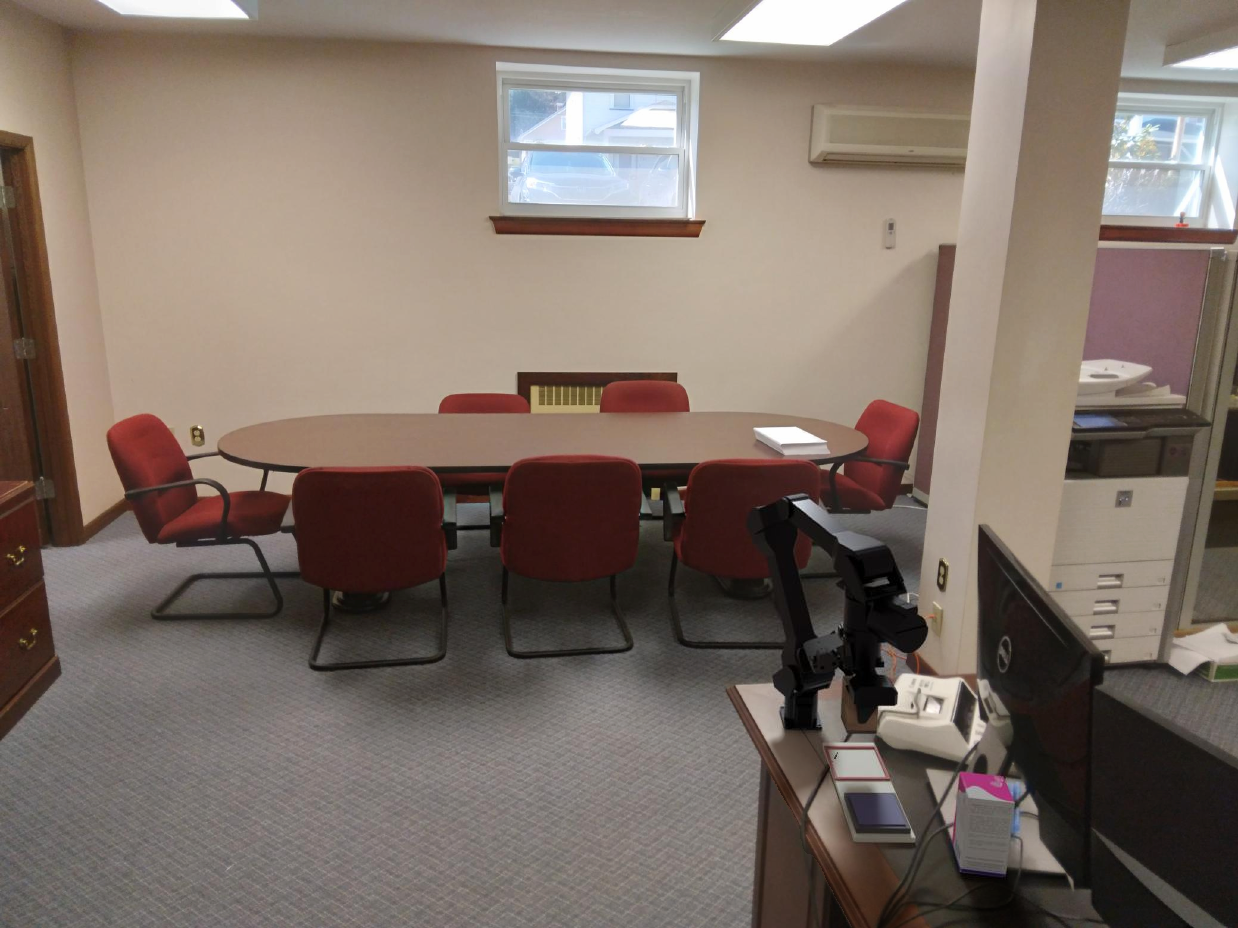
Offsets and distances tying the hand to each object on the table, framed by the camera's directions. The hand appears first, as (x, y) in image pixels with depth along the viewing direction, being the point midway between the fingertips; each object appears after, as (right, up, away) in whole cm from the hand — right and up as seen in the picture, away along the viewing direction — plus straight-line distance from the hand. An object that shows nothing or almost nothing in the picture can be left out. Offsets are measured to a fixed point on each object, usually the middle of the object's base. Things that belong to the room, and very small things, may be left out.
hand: (858, 714), depth 123 cm
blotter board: (0, -11, -3) cm, 11 cm away
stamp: (0, -2, 0) cm, 2 cm away
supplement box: (+11, -14, -17) cm, 25 cm away
